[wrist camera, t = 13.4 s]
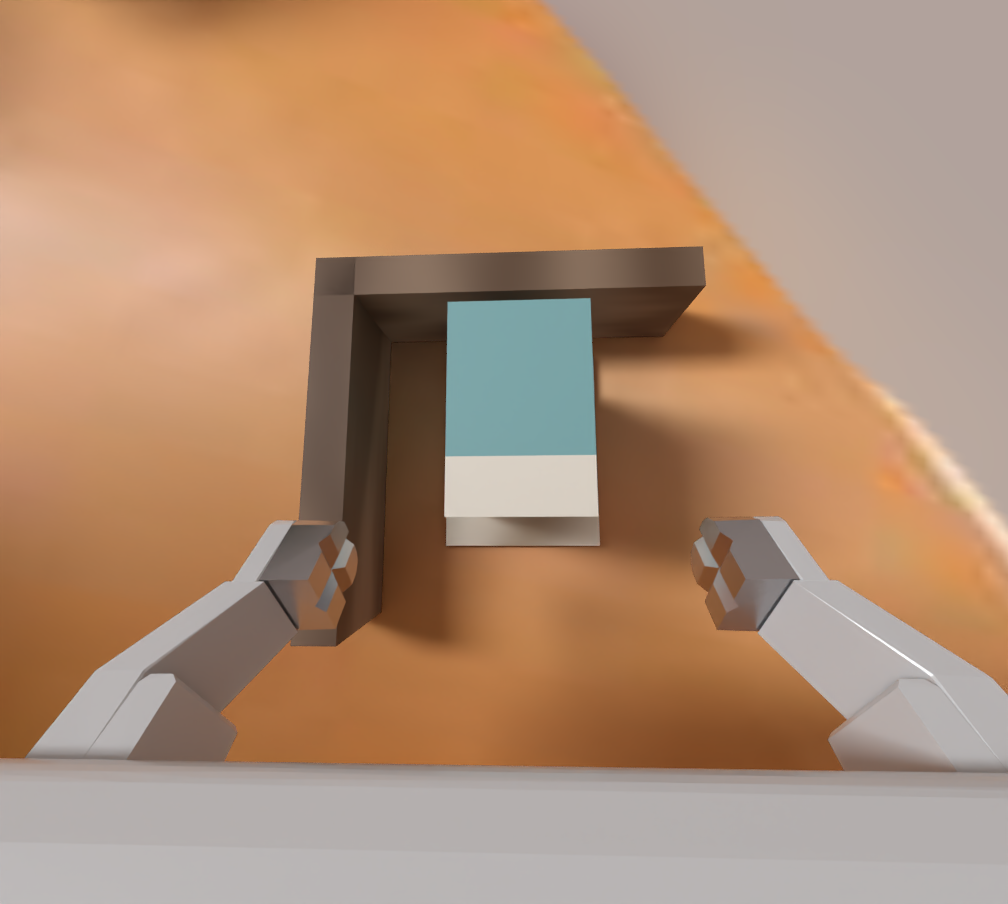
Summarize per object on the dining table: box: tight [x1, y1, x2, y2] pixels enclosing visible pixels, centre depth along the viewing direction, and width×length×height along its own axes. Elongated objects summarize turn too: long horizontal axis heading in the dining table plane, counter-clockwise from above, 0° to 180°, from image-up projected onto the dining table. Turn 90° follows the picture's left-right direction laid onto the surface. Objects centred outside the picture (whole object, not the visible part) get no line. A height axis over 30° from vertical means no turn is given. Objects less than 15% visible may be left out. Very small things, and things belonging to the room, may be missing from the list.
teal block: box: [444, 298, 599, 517], centre depth 15 cm, size 4×6×8 cm, turn 0°
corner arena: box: [291, 246, 706, 646], centre depth 17 cm, size 15×15×4 cm
